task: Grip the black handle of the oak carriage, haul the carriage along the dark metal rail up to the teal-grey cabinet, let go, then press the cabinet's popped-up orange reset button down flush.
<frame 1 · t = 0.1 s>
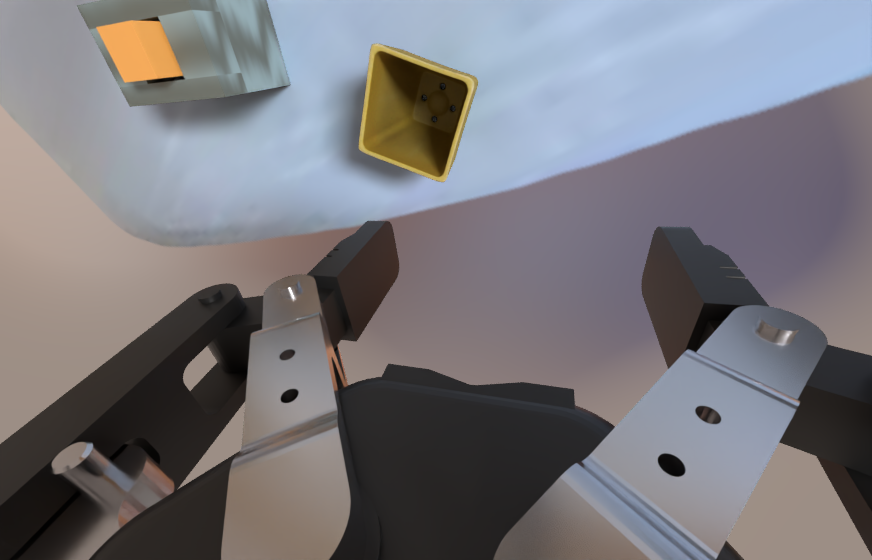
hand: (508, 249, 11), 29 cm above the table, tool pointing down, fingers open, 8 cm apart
reset button: (144, 52, 30), point 11 cm above the table, slide at 2.0 cm
flower pot: (438, 102, 37), on the table
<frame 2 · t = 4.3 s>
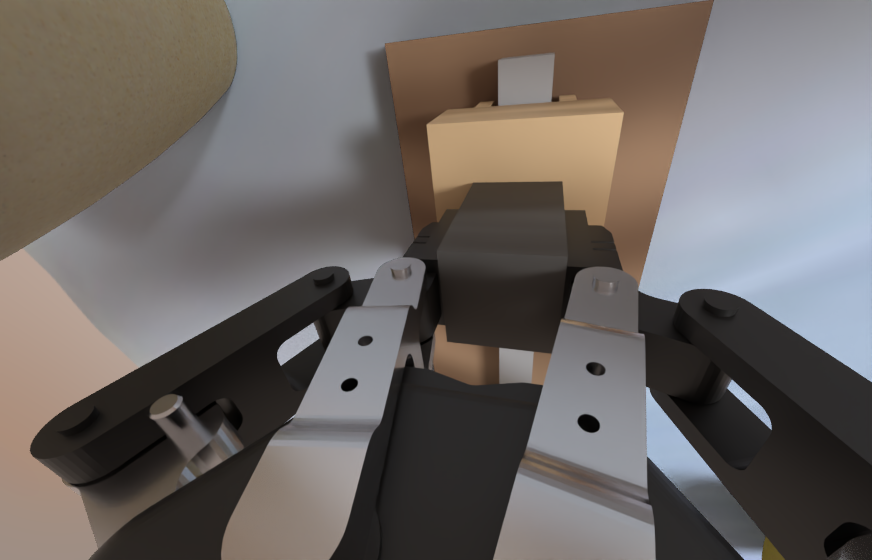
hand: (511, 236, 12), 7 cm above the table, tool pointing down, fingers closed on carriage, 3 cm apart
plant pot: (182, 25, 19), on the table
rail rig: (520, 308, 23), on the table
carriage: (514, 225, 13), point 7 cm above the table, slide at 0.0 cm, touching gripper
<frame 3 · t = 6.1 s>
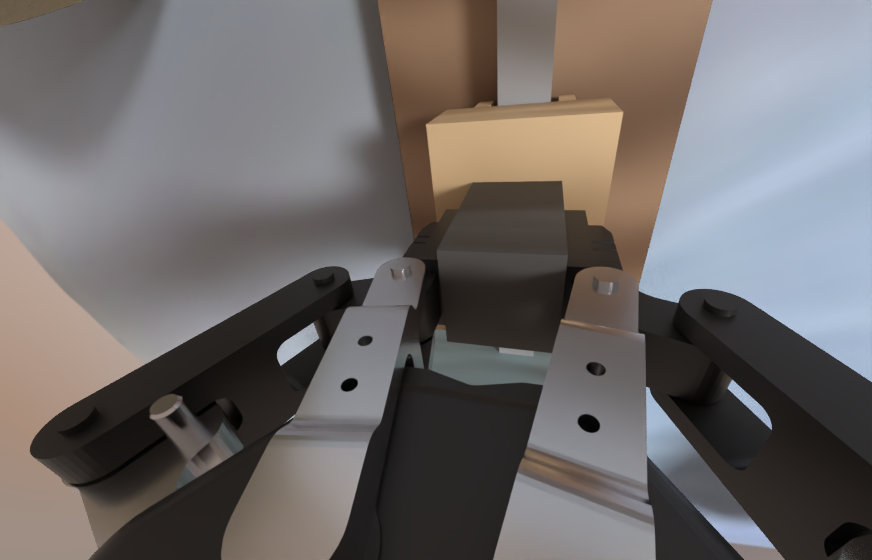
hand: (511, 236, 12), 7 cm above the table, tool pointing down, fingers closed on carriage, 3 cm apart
rail rig: (523, 226, 20), on the table
carriage: (514, 224, 13), point 7 cm above the table, slide at 5.9 cm, touching gripper
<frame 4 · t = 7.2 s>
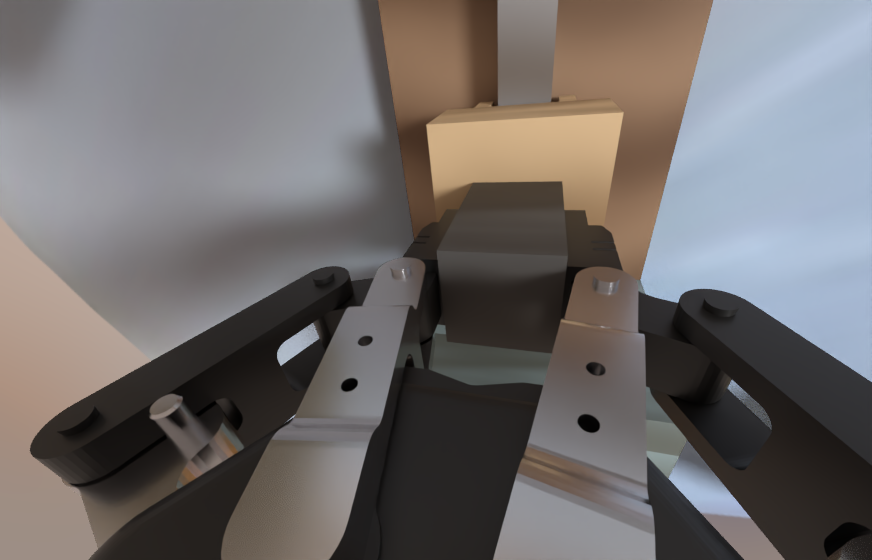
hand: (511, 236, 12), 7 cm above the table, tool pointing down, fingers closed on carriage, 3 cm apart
rail rig: (526, 134, 17), on the table
carriage: (514, 225, 13), point 7 cm above the table, slide at 10.7 cm, touching gripper
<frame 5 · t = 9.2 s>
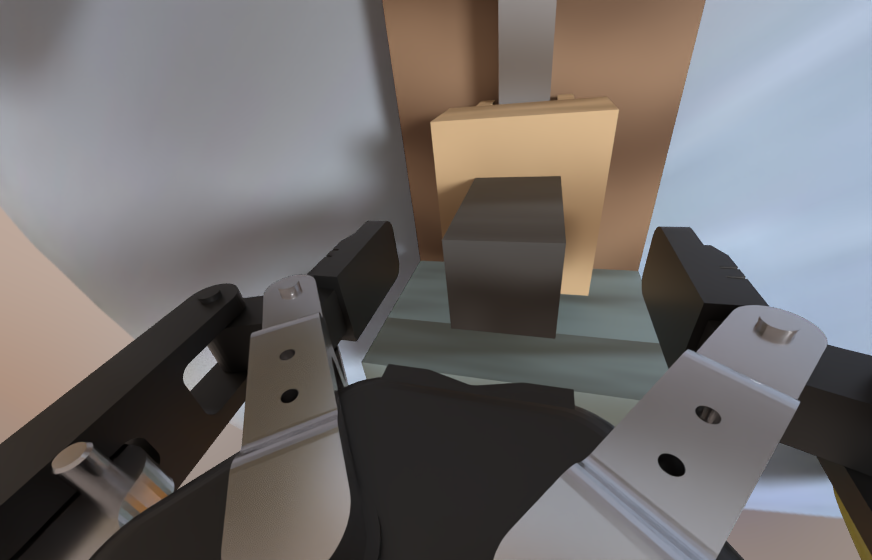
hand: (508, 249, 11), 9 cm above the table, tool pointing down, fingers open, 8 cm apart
rail rig: (526, 128, 17), on the table
carriage: (515, 218, 13), point 7 cm above the table, slide at 10.9 cm
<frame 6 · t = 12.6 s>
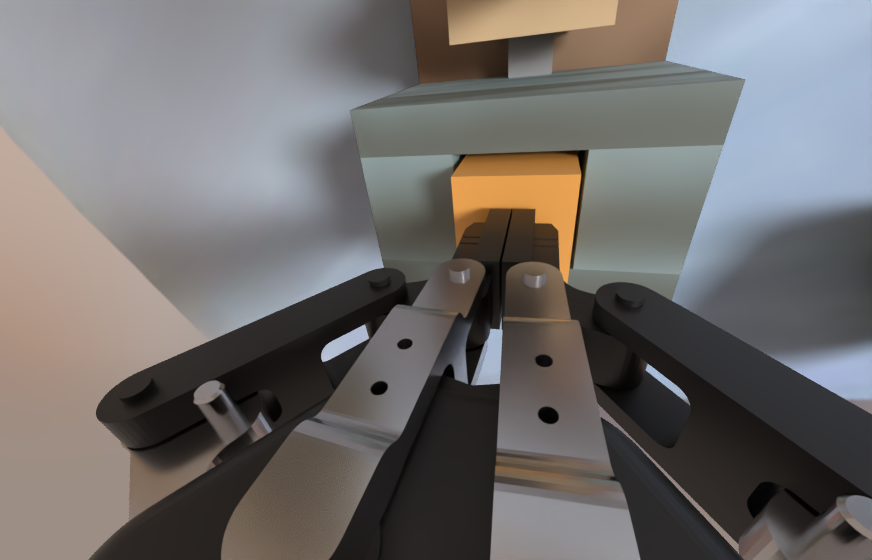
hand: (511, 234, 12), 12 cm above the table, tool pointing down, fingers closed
reset button: (515, 215, 13), point 10 cm above the table, slide at 1.3 cm, touching gripper
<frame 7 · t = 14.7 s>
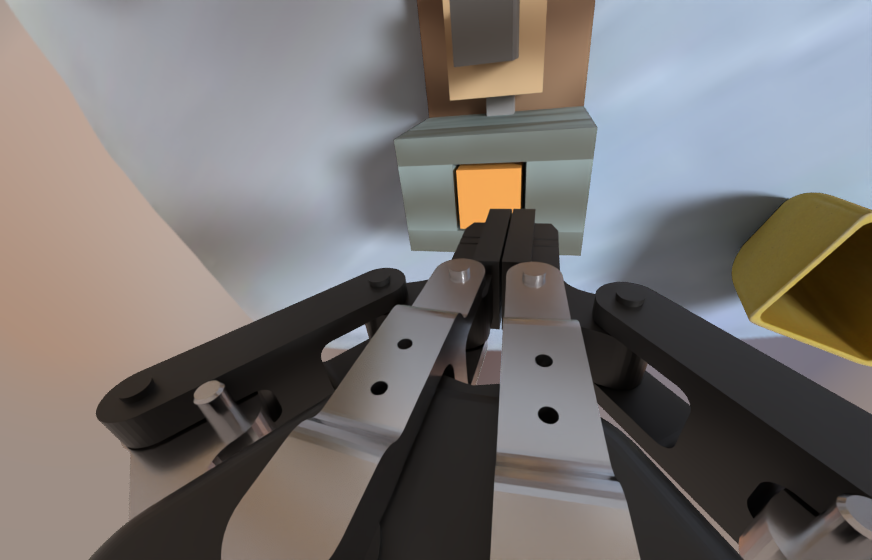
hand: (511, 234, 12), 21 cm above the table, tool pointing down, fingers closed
rail rig: (503, 2, 25), on the table
carriage: (493, 31, 21), point 7 cm above the table, slide at 10.9 cm
reset button: (491, 192, 24), point 9 cm above the table, slide at 0.0 cm
flower pot: (788, 234, 29), on the table
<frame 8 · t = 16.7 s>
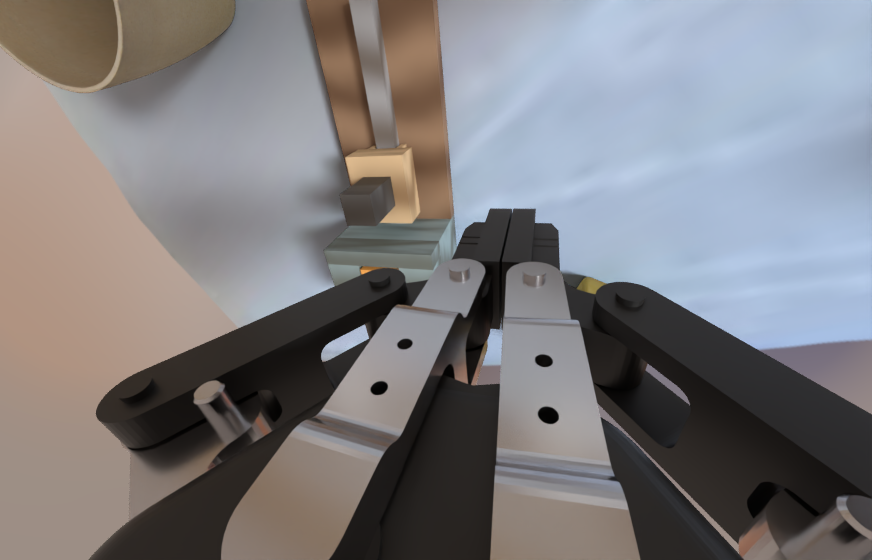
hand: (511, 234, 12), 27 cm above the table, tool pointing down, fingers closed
rail rig: (397, 155, 40), on the table
carriage: (378, 192, 36), point 7 cm above the table, slide at 10.9 cm
reset button: (386, 278, 39), point 9 cm above the table, slide at 0.0 cm
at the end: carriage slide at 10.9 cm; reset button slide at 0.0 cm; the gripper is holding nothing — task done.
